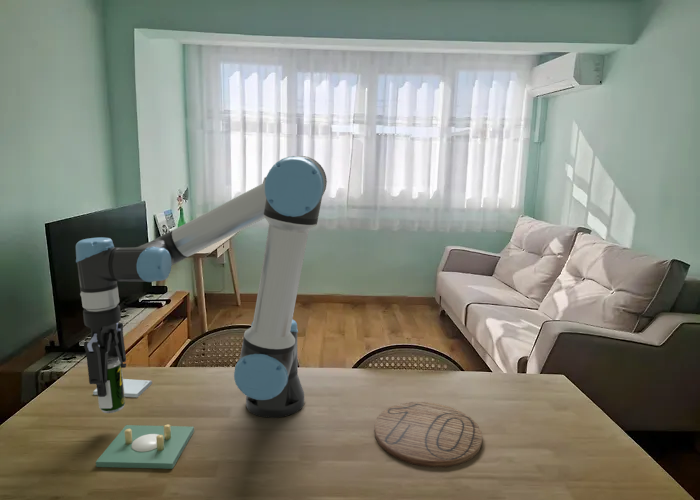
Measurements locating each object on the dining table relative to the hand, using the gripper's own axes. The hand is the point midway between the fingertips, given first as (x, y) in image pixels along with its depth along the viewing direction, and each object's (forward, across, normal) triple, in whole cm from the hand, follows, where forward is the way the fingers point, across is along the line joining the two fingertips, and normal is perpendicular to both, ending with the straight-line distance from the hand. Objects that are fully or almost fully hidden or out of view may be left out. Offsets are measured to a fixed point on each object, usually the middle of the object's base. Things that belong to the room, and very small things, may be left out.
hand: (112, 400), depth 117 cm
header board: (+7, +8, +11) cm, 15 cm away
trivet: (+10, 0, +74) cm, 75 cm away
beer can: (+2, 0, 0) cm, 2 cm away
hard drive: (+7, -19, -7) cm, 21 cm away
